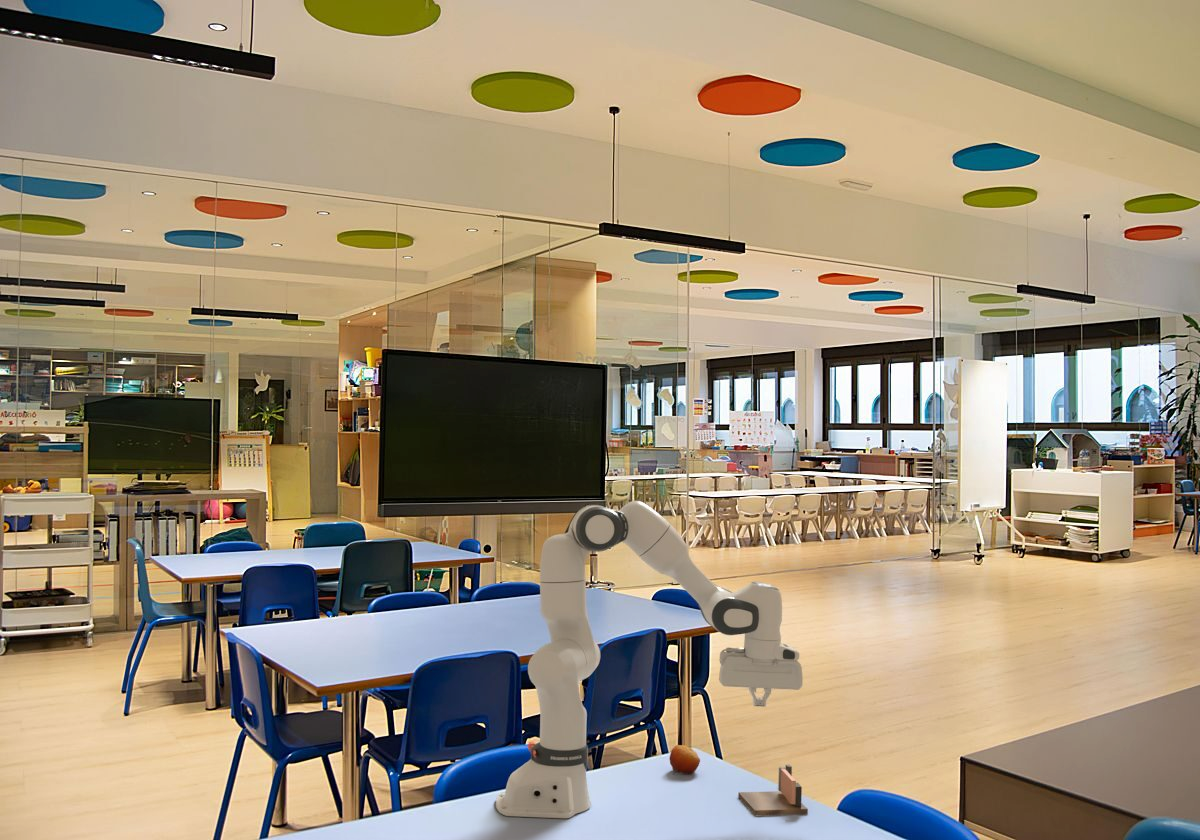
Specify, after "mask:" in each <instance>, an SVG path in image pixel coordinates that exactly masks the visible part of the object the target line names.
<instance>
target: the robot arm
mask: <svg viewBox="0 0 1200 840" xmlns="http://www.w3.org/2000/svg"><path fill="white" fill-rule="evenodd" d="M620 543H623V544H625V545H626V546H628V547H629V548H630V549H631V550H632V551H633V552H634V553H635V555H636V556H638V557H639V558H640V559H641V560H642V561H643V562H644V563H645V564H646V565H648V566H649V567H650V568H652V569H654V571H656V572H658V573H659V574H661V575H665V576H667V577H670V578H672V579H673V580H674V581H675V582H677V584H679V585H680V586H681V587H682V588H683V589H684V590H685V591H686V592H687V593H688V594H689V595H690V596H691V597H692V599H694V601H695V602H696V603H697V604H698V608H699V610H700V613H701V615H702V617H703V619H704V621H705V622H706V623H707V624H708V625H710V626H711V627H712V628H714V629H715V630H716V631H717V632H719V633H721V634H722V635H725V636H737V635H743V634H744V641H743V642H744V643H743V644H744V645H743V647H735V648H734V647H726V648H724V649H722V650H721V651H720V653H719V664H720V668H719V676H718V680H719V683H720V684H721V685H722V686H723V687H725V688H726V687H728V688H729V687H731V688H748V691H749V693H750V696H751V697H752V706H753V707H762V708H763V707H764V708H765V707H766V706H767V700H768V698H769V697H770V695H771V694H772V689H774V690H794V691H798V690H800V689H801V688H803V669H802V665H801V663H800V661H798V660H799V659H800V652H799V651H798V650H797V649H795V647H792V646H790V645H788V644H784V643H781V640H782V635H781V632H780V628H781V624H782V621H783V600H782V593H781V591H780V590H779V589H778V588H777V587H775V586H774V585H772V584H769V583H765V582H761V581H752V582H750V583H749V584H748V585H746V586H744V587H742V588H741V589H738V590H736V591H733V592H732V591H731V590H729V589H726V588H724V587H722V586H718V585H717V584H715V583H714V582H712V581H711V580H710V579H709V577H707V575H706V574H705V573H703V571H701V569H700V568H699V567H698V566H697V565H696V564H695V563H694V562H693V559H692V558H691V557H690V554H689V548H688V545H687V543H686V542H685V539H684V538H682V536H681V535H680V534H679V532H678V531H677V530H676V529H675V527H673V525H672V524H671V523H670V522H669V521H668V520H667V519H665V518H664V517H663V516H662V515H661V514H660V513H659V512H657V511H656V510H655V509H653V508H652V507H651V506H649V505H648V504H646V503H644V502H643V501H640V500H632V501H629V502H627V503H626V504H624V505H623V506H622V507H621V508H620V509H619V510H616V509H612V508H609V507H605V506H603V505H599V504H590V505H585V506H583V507H581V508H579V509H578V510H577V511H576V512H575V513H574V515H573V516H572V517H571V520H570V522H569V523H568V526H567V528H566V530H565V531H564V533H560V534H554V535H552V536H550V537H548V538H546V539H545V541H544V543H543V545H542V547H541V548H542V549H541V555H540V563H539V564H540V565H539V590H540V591H539V594H540V595H539V597H540V614H541V616H542V618H543V619H544V620H545V623H546V625H547V628H548V631H549V635H550V642H548V643H546V644H544V645H542V646H541V647H540V648H538V649H537V650H536V651H535V652H534V654H532V656H531V657H530V659H529V661H528V665H527V674H528V677H529V680H530V682H531V683H532V684H533V685H534V686H535V689H536V693H537V694H536V695H537V699H538V704H539V714H540V718H539V719H540V720H539V722H540V723H539V725H540V726H539V742H538V743H536V742H535V741H529V742H528V744H527V749H528V751H529V752H530V759H528V761H527V762H525V763H524V764H523V765H521V766H520V767H518V768H517V769H516V770H514V771H513V772H512V773H511V774H509V775H510V776H509V777H508V779H507V782H506V786H505V791H504V792H500V793H499V794H498V795H497V797H496V799H495V807H496V808H495V809H497V811H498V812H499V813H500V814H501V815H504V816H506V817H522V818H525V817H526V818H545V819H546V818H549V819H551V818H552V819H570V818H571V817H573V816H575V815H576V814H578V813H583V812H585V811H587V810H588V809H589V808H590V807H591V806H592V802H591V800H590V799H591V798H590V795H589V789H588V788H589V787H588V781H587V780H588V779H587V768H588V763H589V762H588V761H589V748H588V744H587V722H588V721H587V717H588V713H587V709H586V707H584V704H583V702H582V697H581V693H580V683H581V682H582V681H584V680H585V679H587V678H589V677H590V676H591V675H592V674H593V673H594V672H595V670H596V669H597V667H598V666H599V664H600V660H601V649H600V647H599V645H598V643H597V642H596V641H595V639H594V637H593V632H592V629H591V624H590V620H589V615H588V608H587V606H588V605H587V585H586V561H587V557H588V556H589V554H590V553H591V552H597V553H598V552H604V551H607V550H610V549H612V548H613V547H615V546H616V545H618V544H620ZM757 689H763V691H764V694H763V695H762V697H757V696H756V693H757Z"/></svg>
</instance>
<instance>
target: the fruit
mask: <svg viewBox="0 0 1200 840" xmlns="http://www.w3.org/2000/svg"><path fill="white" fill-rule="evenodd" d="M700 762H701V759H700V757H699V754H698V753H697V752H696V751H695V750H694V749H692V748H691V747H689V746H687V745H681V744H680V745H679V744H677V745H675V746H674V747H673V748H672V749H671V751H670V755H669V764H670V766H671V768H672V769H671V770H673V773H672V775H674V774H676V773H679V774H684V775H692V774H694V772H696V771H697V769H698V767H699V766H700Z"/></svg>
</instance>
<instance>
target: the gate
mask: <svg viewBox="0 0 1200 840" xmlns="http://www.w3.org/2000/svg"><path fill="white" fill-rule="evenodd" d="M796 783H797V780H796V779H795V778H794V777H793V775H792V776H791V775H790V774H789V773H788V772H787V770H786V766H779V767H778V788H777V789H778V790H777V791H781V793H782V794H783V795H784V796H785V797H786V799H787V800H788V801H789V802H790V803H791V804H795V796H796Z"/></svg>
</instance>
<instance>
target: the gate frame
mask: <svg viewBox="0 0 1200 840" xmlns="http://www.w3.org/2000/svg"><path fill="white" fill-rule="evenodd" d="M785 769H786V770H787V772H788V773H789V774H790V775H791V776H792V777H793V775H792V774H793V772H792V770H793V767H792V765H790V764H785ZM802 789H803V787H802V785H801V784H800V783H799V782H796V796H795V804H791V803H790V802H789V801H788V800H787V799H786V797H785V796H784V795H783V794H782V793H781V791H779V790H777V791H744V792H742V791H740V792H738V799H739V798H740V799H741V800H742V801H741V800H740V799H739V800H740V801H741V802H742V803H743V804H744V805H745V806H746V807H747V809H750V810H749V811H750V812H751V813H752V814H753V815H754V816H755V815H761V816H785V815H787V816H788V815H808V814H809V813H808V812H809V811H808V810H809V808H807V806H806V805H804V804H803V802H802V794H803V793H802V791H803V790H802Z"/></svg>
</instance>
